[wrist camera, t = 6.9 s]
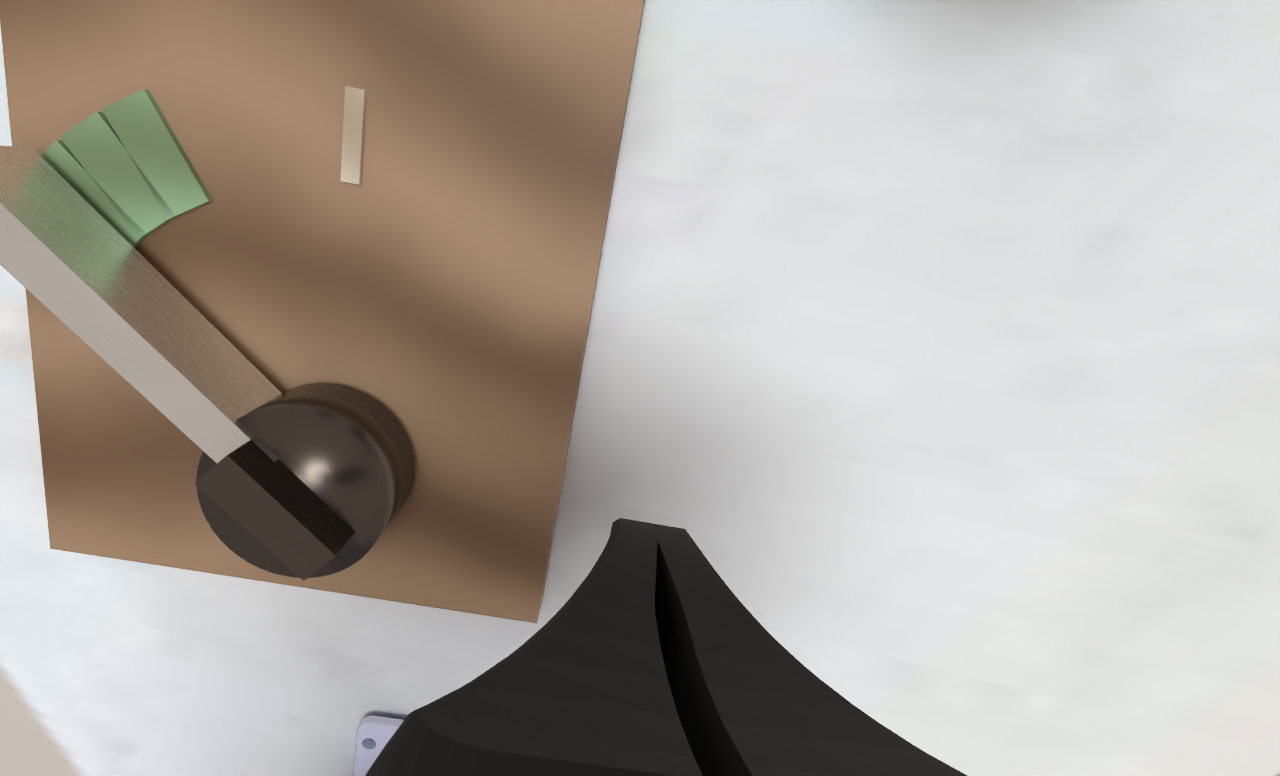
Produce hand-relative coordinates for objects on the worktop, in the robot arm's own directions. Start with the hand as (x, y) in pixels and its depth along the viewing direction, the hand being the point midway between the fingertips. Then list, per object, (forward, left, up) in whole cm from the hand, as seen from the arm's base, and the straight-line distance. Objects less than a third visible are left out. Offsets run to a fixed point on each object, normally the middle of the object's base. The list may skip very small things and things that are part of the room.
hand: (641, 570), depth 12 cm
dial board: (+2, +10, -9) cm, 14 cm away
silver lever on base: (0, +12, -8) cm, 15 cm away
